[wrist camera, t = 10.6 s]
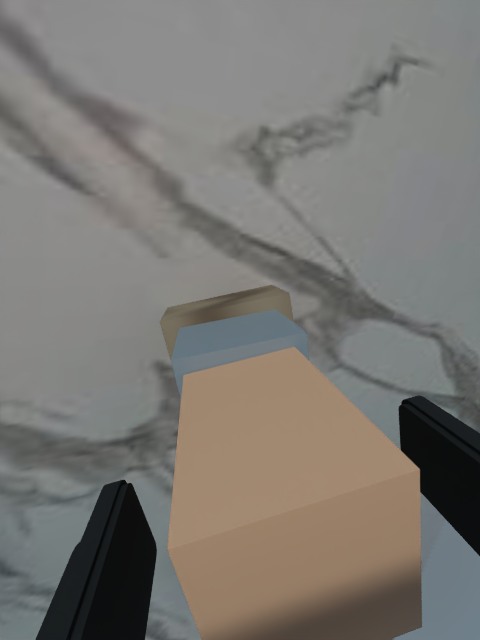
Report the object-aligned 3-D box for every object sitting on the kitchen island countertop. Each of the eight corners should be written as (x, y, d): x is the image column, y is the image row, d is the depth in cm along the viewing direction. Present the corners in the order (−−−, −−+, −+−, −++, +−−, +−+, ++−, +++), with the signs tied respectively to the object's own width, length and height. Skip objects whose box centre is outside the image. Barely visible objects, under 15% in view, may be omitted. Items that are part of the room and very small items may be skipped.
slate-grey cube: (275, 309, 17) (306, 332, 12) (286, 393, 18) (317, 444, 14) (179, 328, 16) (170, 360, 11) (199, 413, 18) (199, 473, 13)
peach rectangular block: (294, 346, 12) (419, 469, 5) (308, 438, 13) (421, 626, 7) (183, 375, 11) (167, 550, 5) (210, 467, 13) (226, 702, 6)
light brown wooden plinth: (270, 284, 21) (289, 292, 17) (285, 375, 23) (305, 404, 19) (168, 306, 20) (159, 321, 16) (193, 399, 22) (192, 434, 18)
